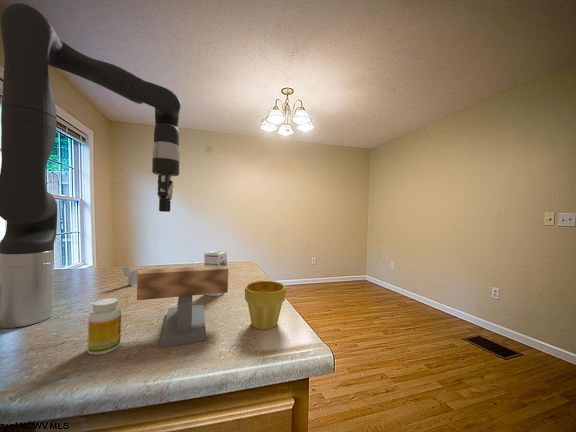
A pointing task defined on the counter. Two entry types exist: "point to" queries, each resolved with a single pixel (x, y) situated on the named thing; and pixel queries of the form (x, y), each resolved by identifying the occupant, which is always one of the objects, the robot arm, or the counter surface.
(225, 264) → the syrup box
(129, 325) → the counter surface
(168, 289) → the wooden beam
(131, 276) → the lighter
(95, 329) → the supplement bottle
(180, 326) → the ridge stand
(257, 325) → the plant pot
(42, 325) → the counter surface
